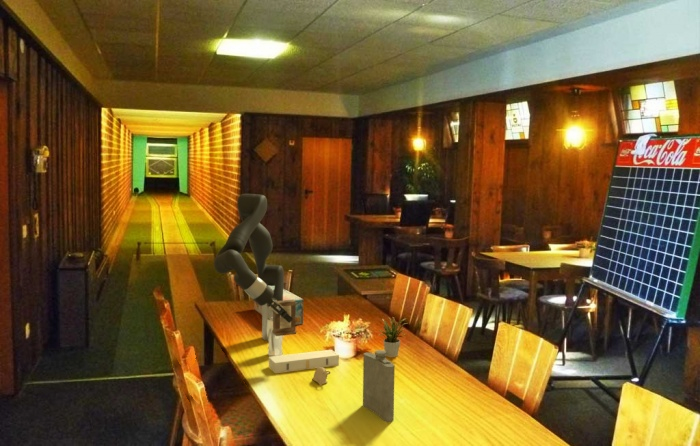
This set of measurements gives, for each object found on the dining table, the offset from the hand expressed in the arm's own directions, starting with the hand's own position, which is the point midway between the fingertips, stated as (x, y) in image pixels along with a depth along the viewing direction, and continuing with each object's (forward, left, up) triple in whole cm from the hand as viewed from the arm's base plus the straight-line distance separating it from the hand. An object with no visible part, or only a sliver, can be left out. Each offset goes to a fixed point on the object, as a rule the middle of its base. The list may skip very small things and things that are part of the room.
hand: (289, 319), depth 243 cm
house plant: (-31, +33, -19) cm, 50 cm away
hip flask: (+29, +45, -19) cm, 57 cm away
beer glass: (-13, -13, -19) cm, 27 cm away
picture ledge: (-4, +4, -19) cm, 20 cm away
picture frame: (+1, -1, -5) cm, 6 cm away
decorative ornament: (+10, +18, -19) cm, 28 cm away
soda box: (-71, -41, -20) cm, 84 cm away
